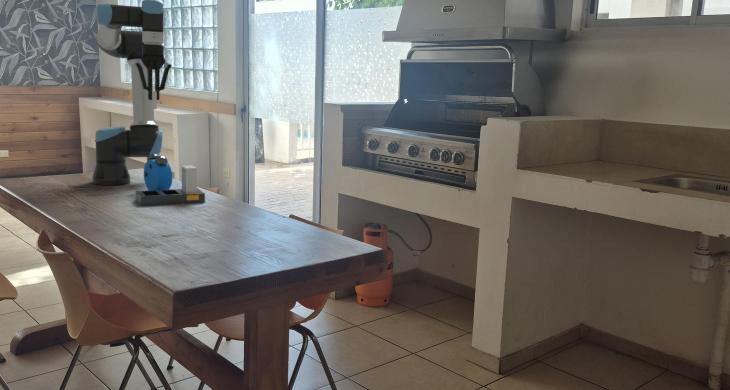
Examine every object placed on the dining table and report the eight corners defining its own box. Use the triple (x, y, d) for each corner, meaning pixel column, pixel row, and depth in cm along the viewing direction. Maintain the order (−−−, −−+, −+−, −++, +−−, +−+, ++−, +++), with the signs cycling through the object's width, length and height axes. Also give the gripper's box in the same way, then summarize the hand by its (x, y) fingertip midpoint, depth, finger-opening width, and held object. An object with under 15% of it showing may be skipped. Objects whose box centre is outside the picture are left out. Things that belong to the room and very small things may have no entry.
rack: (135, 200, 247) (135, 190, 247) (197, 197, 258) (197, 187, 257) (141, 206, 238) (140, 196, 237) (205, 202, 248) (205, 193, 248)
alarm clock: (173, 194, 261) (172, 156, 259) (158, 195, 257) (157, 157, 254) (157, 189, 271) (156, 152, 268) (143, 190, 266) (142, 153, 264)
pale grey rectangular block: (181, 196, 253) (181, 165, 251) (192, 196, 255) (192, 165, 253) (185, 200, 247) (185, 168, 245) (197, 199, 249) (196, 168, 247)
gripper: (136, 42, 236) (137, 109, 240) (173, 45, 242) (174, 110, 247) (132, 43, 242) (133, 108, 247) (168, 45, 248) (169, 108, 253)
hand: (153, 108), depth 247 cm, fingers closed
